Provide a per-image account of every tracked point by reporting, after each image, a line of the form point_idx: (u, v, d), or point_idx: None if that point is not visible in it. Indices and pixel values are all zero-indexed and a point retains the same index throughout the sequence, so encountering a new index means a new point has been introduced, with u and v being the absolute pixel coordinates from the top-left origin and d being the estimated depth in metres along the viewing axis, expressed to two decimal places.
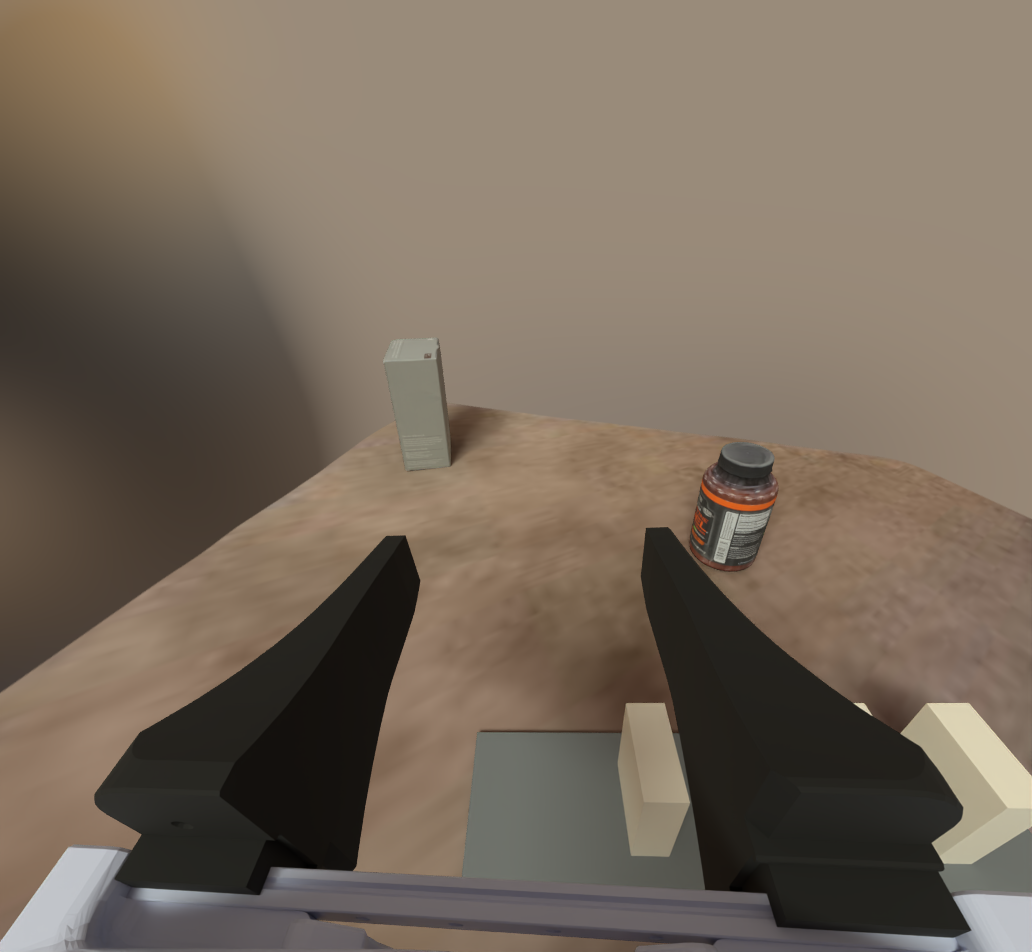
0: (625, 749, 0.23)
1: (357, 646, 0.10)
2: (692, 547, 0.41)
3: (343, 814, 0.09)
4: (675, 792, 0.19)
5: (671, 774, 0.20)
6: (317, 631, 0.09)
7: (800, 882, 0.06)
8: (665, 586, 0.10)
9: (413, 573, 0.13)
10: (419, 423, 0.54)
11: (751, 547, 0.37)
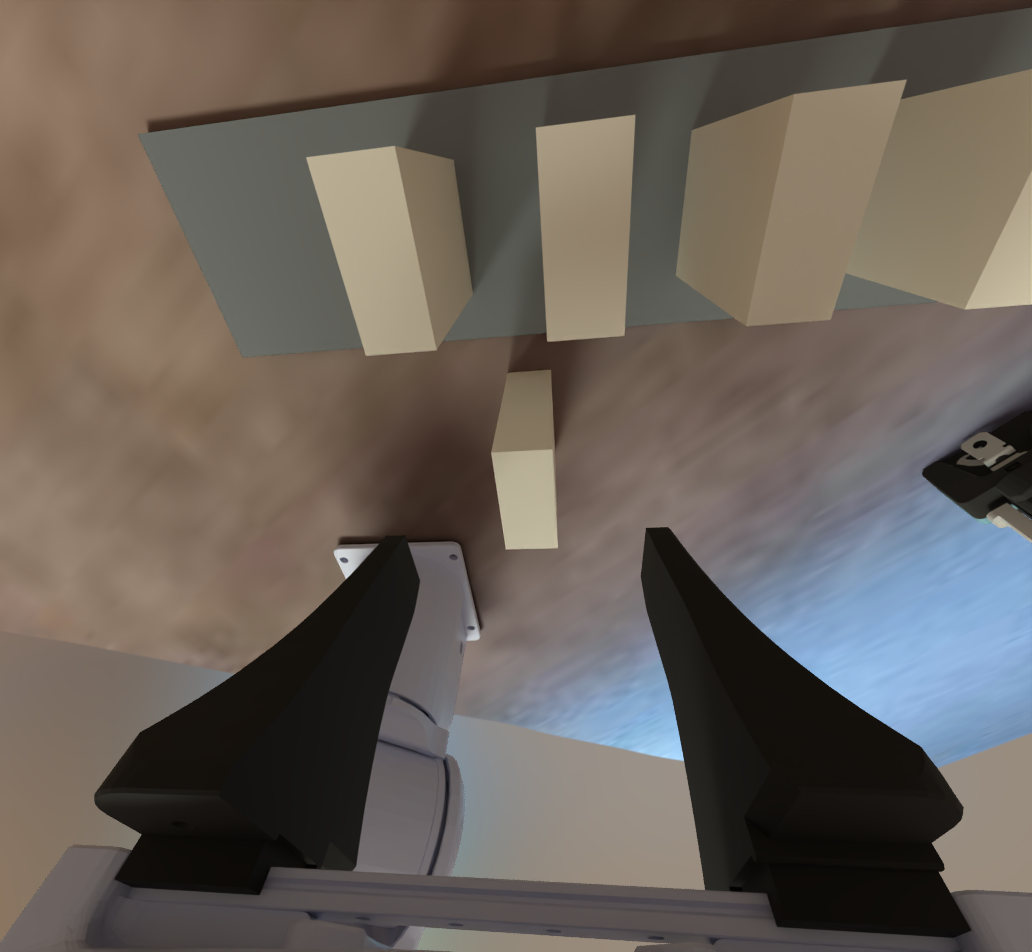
0: None
1: (357, 646, 0.10)
2: None
3: (343, 814, 0.09)
4: (414, 337, 0.11)
5: (408, 309, 0.11)
6: (317, 631, 0.09)
7: (800, 882, 0.06)
8: (665, 586, 0.10)
9: (413, 573, 0.13)
10: None
11: None
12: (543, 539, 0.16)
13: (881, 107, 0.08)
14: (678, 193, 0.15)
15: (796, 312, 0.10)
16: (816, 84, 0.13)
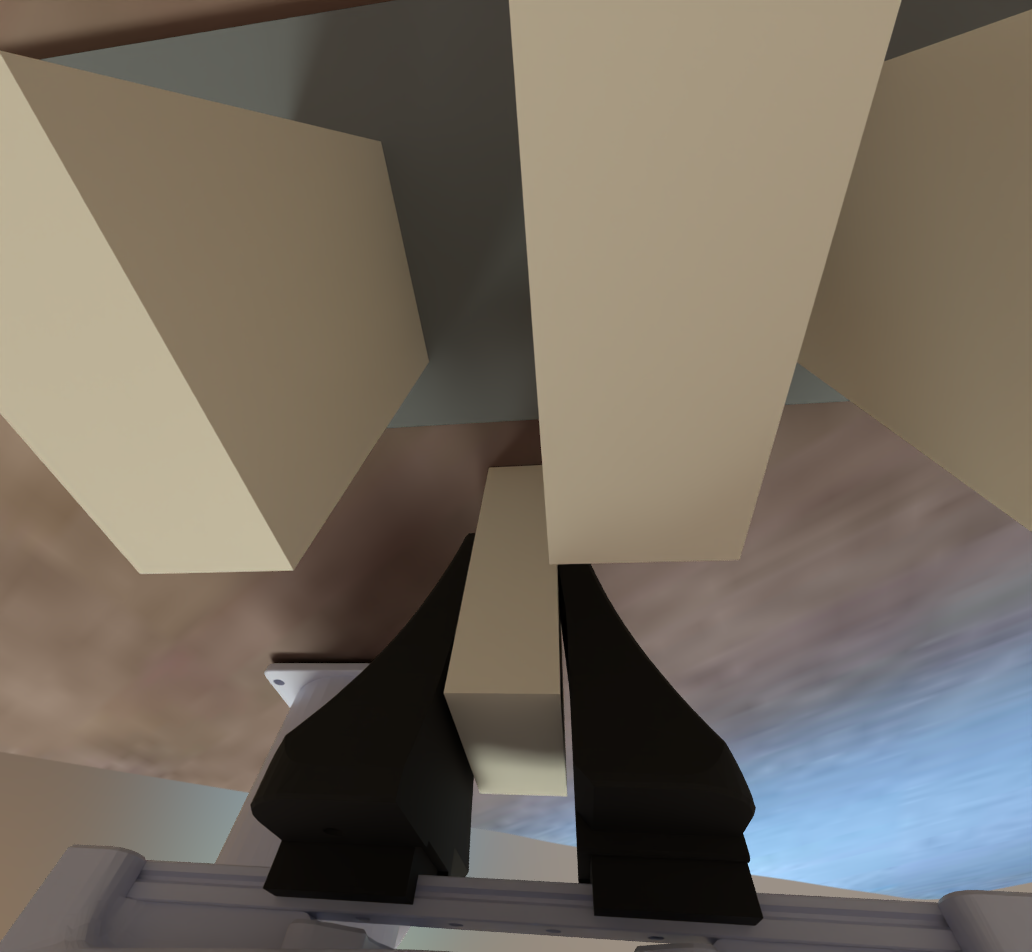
0: None
1: None
2: None
3: (460, 819, 0.09)
4: (237, 548, 0.05)
5: (206, 498, 0.04)
6: (430, 630, 0.09)
7: (616, 873, 0.06)
8: (560, 588, 0.11)
9: None
10: None
11: None
12: (542, 787, 0.09)
13: None
14: None
15: None
16: None
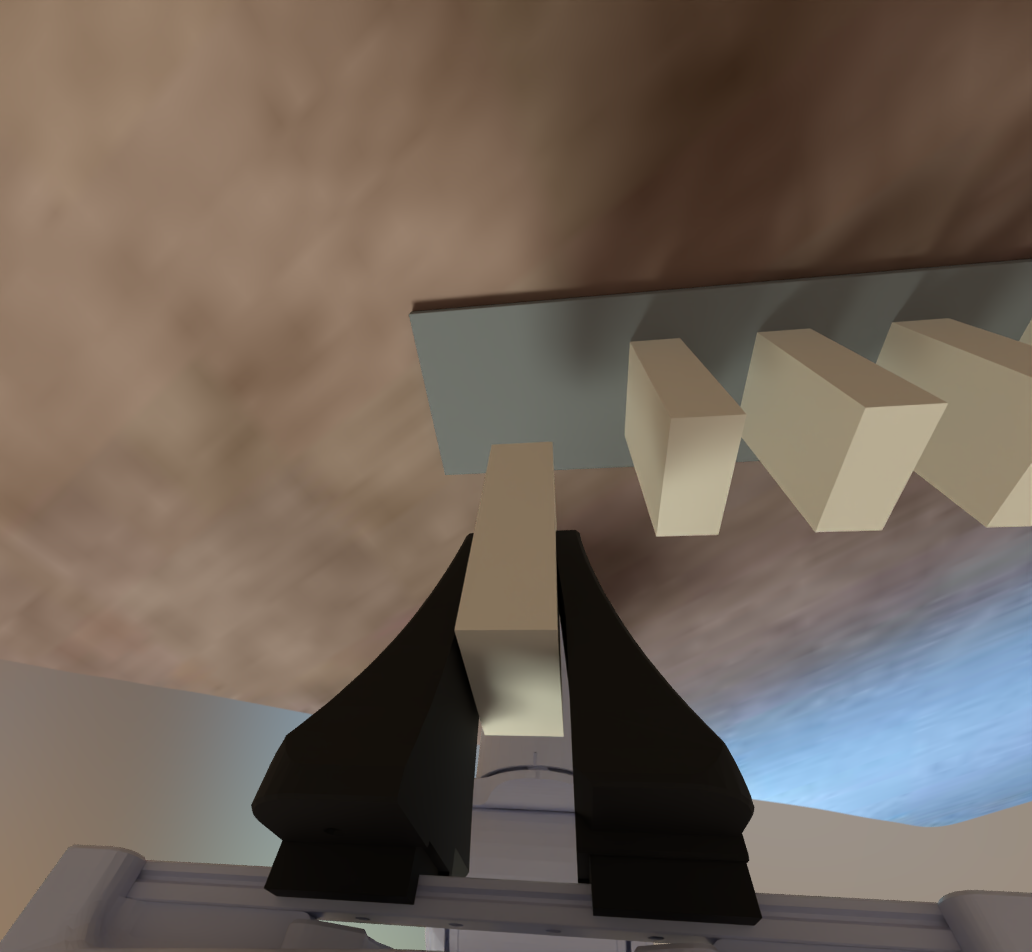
0: (647, 407, 0.15)
1: None
2: None
3: (461, 819, 0.09)
4: (703, 526, 0.14)
5: (707, 509, 0.13)
6: (431, 630, 0.09)
7: (615, 873, 0.06)
8: (560, 588, 0.11)
9: None
10: None
11: None
12: (541, 727, 0.10)
13: None
14: None
15: (1031, 519, 0.13)
16: (1006, 293, 0.16)
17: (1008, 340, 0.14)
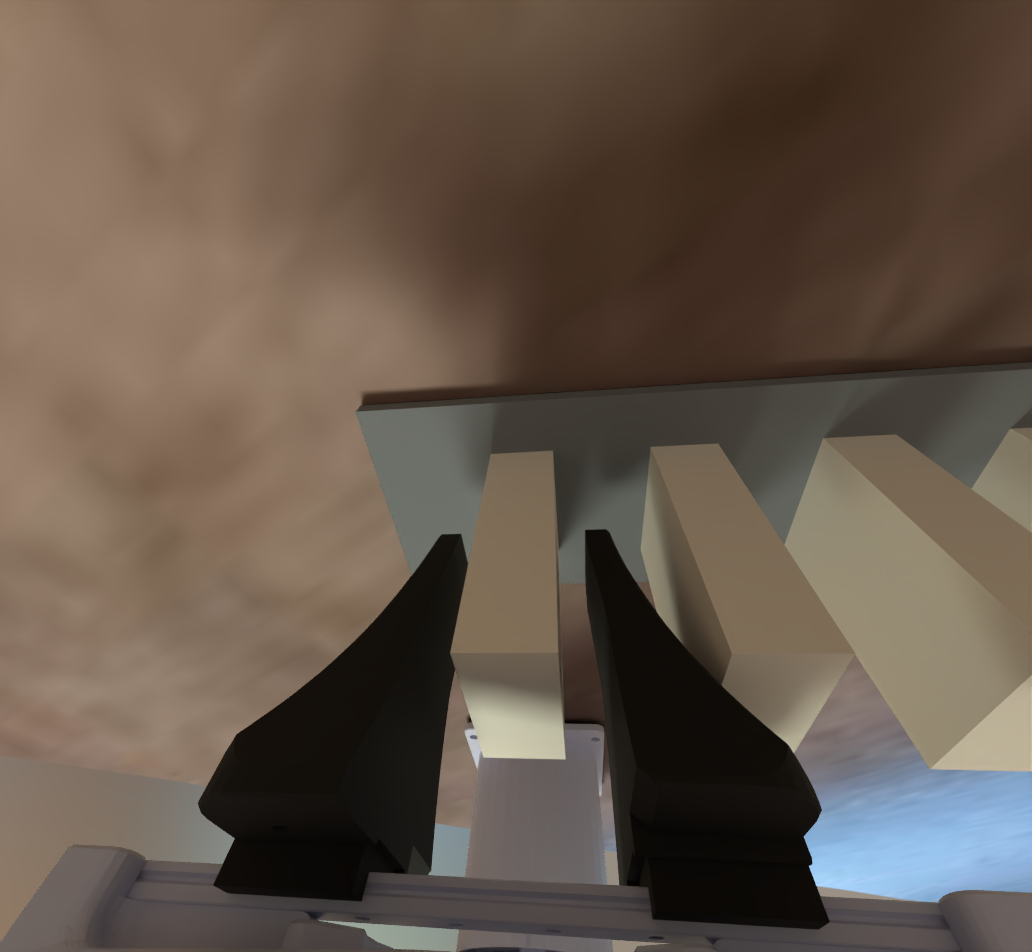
0: (682, 571, 0.10)
1: (428, 646, 0.10)
2: None
3: (421, 817, 0.09)
4: None
5: None
6: (392, 630, 0.09)
7: (675, 875, 0.06)
8: (594, 587, 0.10)
9: None
10: None
11: None
12: (542, 750, 0.10)
13: None
14: (971, 478, 0.13)
15: None
16: None
17: None
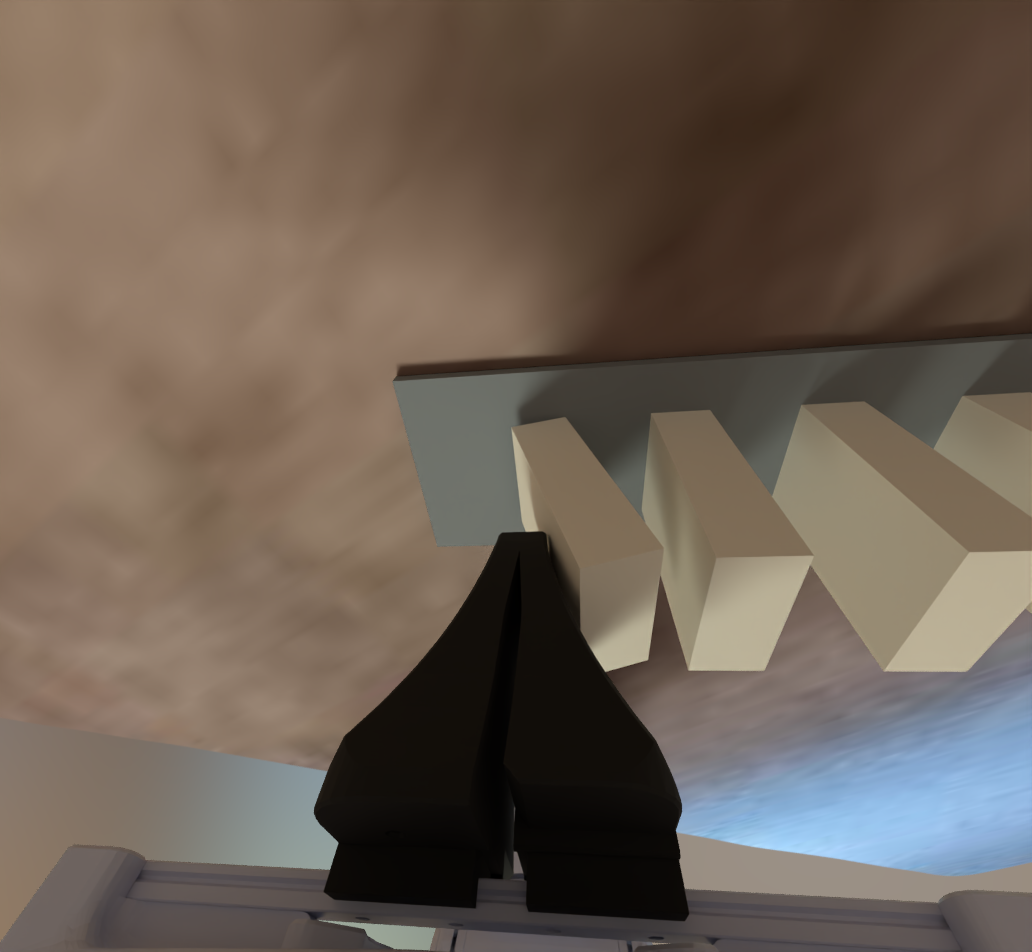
0: (677, 510, 0.12)
1: (506, 645, 0.09)
2: None
3: (508, 821, 0.09)
4: (747, 662, 0.11)
5: (753, 646, 0.11)
6: (475, 630, 0.09)
7: (550, 869, 0.06)
8: None
9: None
10: None
11: None
12: (631, 655, 0.12)
13: None
14: (931, 441, 0.15)
15: None
16: None
17: None
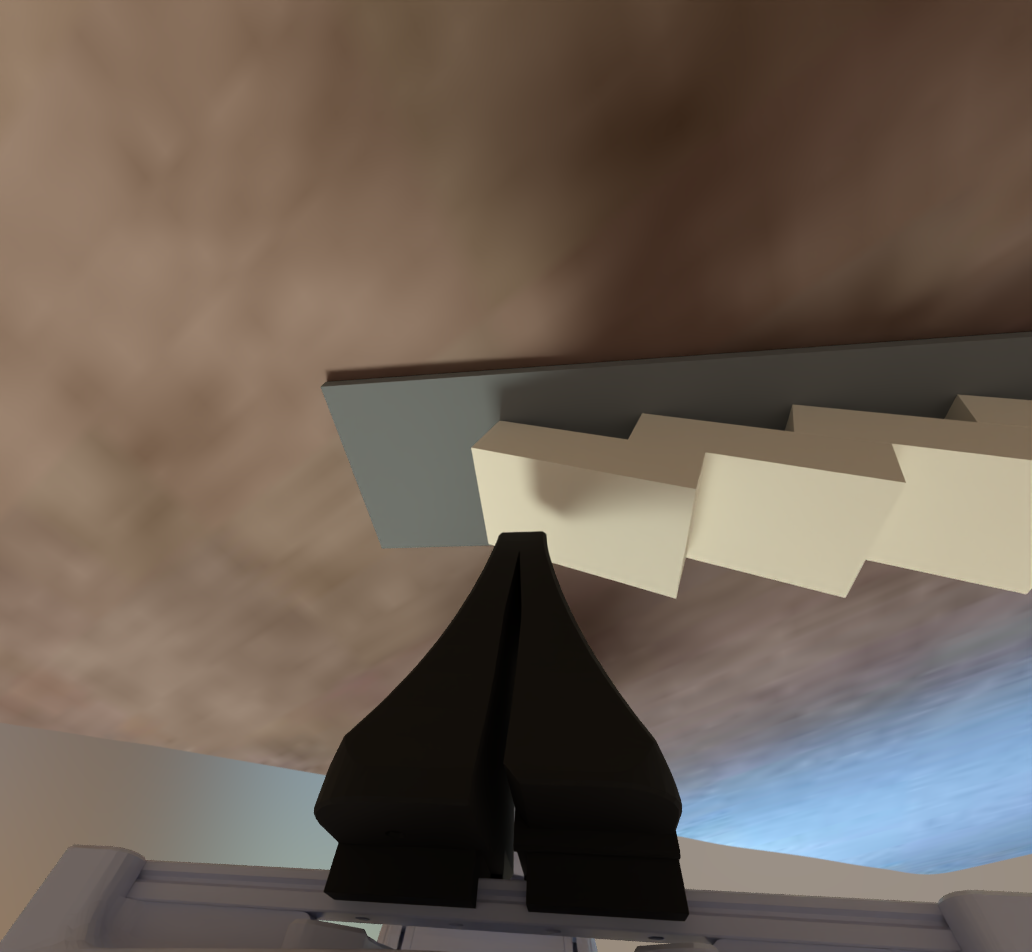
0: (767, 492, 0.12)
1: (506, 646, 0.09)
2: None
3: (507, 821, 0.09)
4: None
5: None
6: (475, 630, 0.09)
7: (550, 869, 0.06)
8: None
9: None
10: None
11: None
12: (685, 557, 0.14)
13: None
14: None
15: None
16: (1008, 370, 0.13)
17: None
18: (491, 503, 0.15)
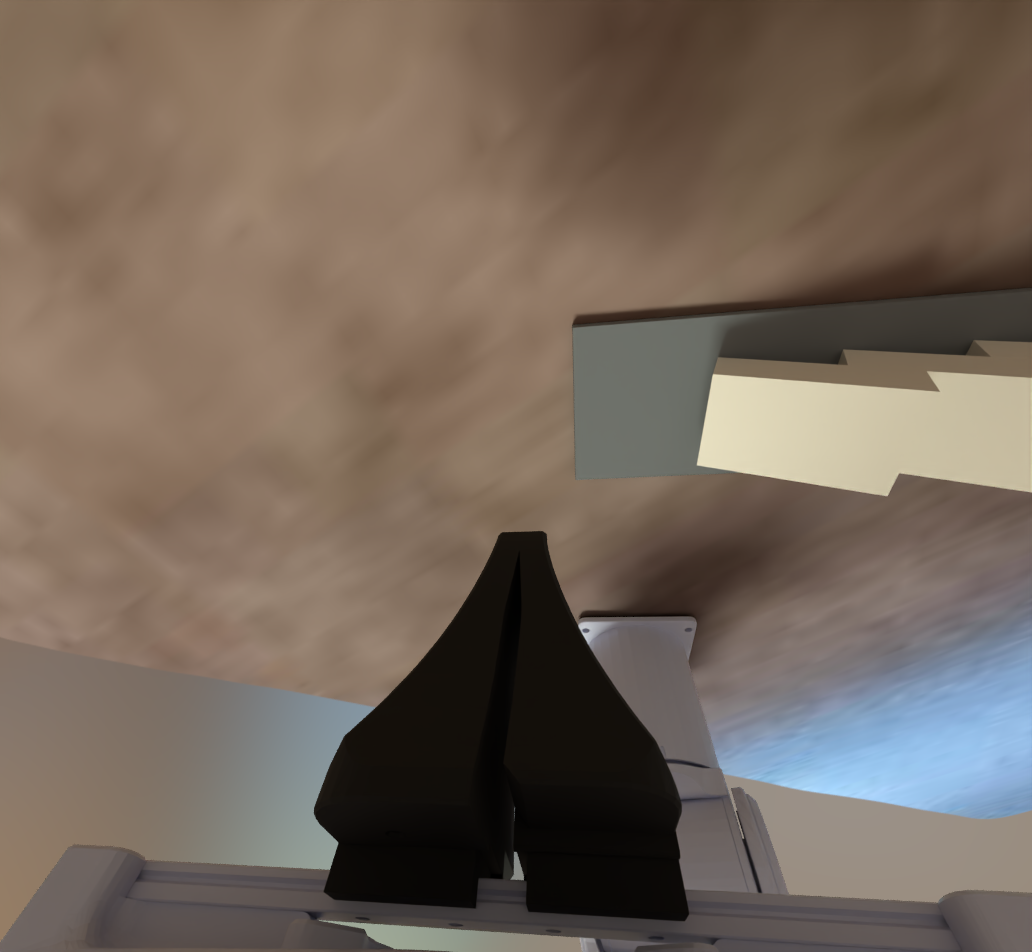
0: (978, 402, 0.15)
1: (506, 645, 0.09)
2: None
3: (508, 821, 0.09)
4: None
5: None
6: (475, 630, 0.09)
7: (550, 869, 0.06)
8: None
9: None
10: None
11: None
12: None
13: None
14: None
15: None
16: None
17: None
18: (715, 425, 0.18)
